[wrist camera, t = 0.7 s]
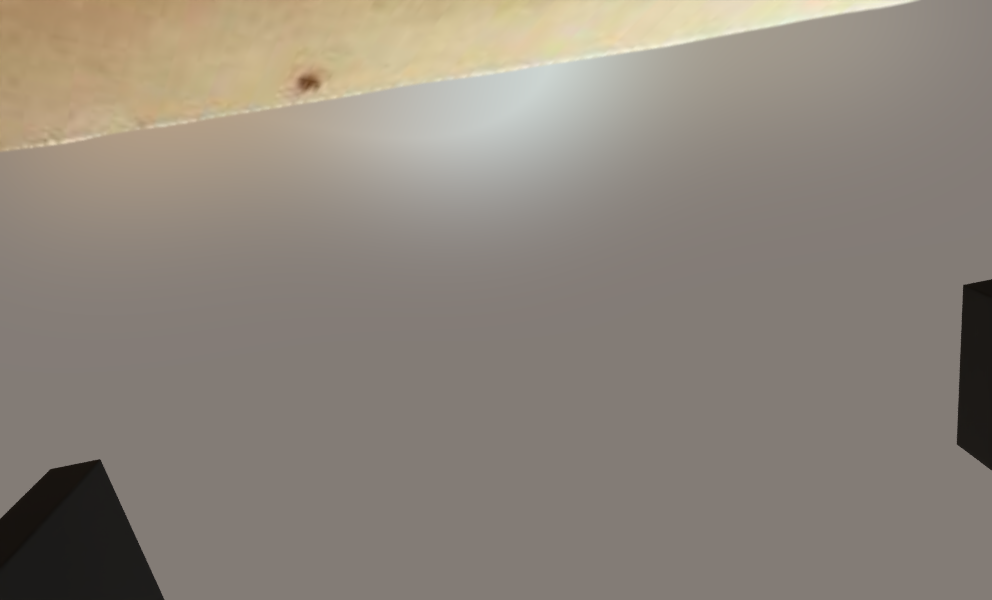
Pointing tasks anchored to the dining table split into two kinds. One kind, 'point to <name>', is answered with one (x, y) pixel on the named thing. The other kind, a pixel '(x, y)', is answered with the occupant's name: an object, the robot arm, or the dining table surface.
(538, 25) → the dining table surface
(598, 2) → the dining table surface
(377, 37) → the dining table surface
